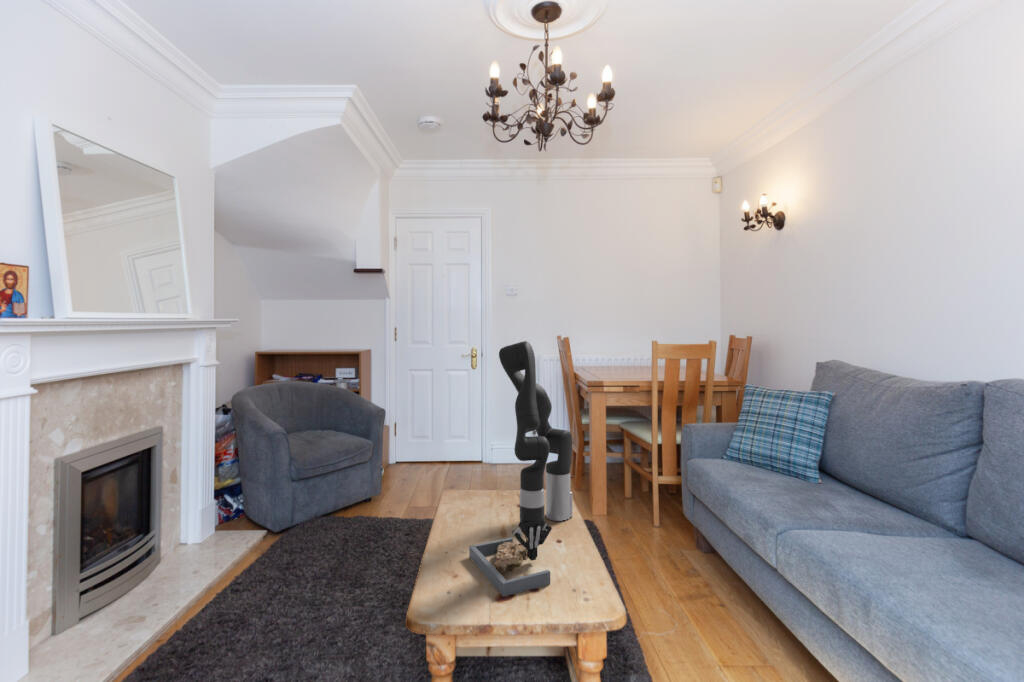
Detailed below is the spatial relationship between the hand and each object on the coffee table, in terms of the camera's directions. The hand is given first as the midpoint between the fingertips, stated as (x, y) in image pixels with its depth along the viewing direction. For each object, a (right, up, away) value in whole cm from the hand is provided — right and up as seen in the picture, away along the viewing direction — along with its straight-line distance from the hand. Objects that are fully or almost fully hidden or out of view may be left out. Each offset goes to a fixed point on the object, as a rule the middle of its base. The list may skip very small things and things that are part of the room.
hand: (532, 559), depth 145 cm
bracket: (-8, -1, -4) cm, 9 cm away
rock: (-6, -2, 0) cm, 6 cm away
